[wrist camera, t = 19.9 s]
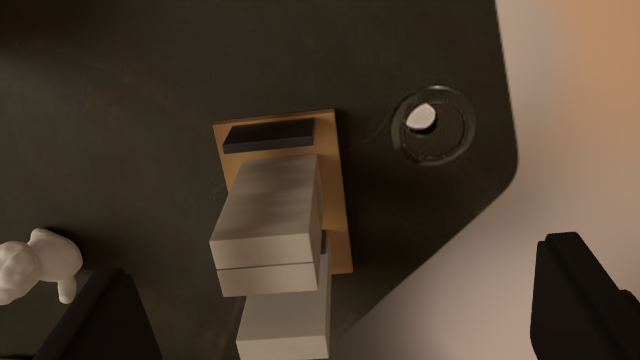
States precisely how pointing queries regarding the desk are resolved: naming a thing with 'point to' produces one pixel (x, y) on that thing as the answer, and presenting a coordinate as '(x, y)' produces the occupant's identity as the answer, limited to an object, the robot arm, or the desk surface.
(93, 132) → the desk surface
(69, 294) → the figurine
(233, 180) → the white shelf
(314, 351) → the white book
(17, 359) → the planter
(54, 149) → the desk surface
